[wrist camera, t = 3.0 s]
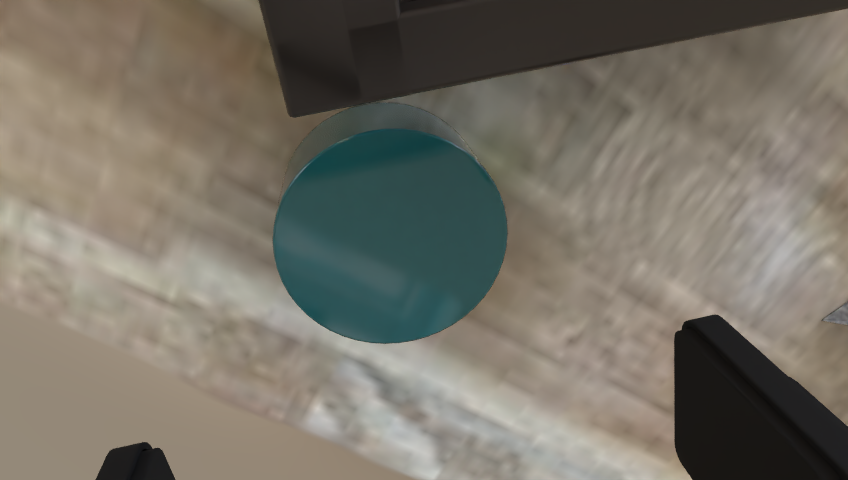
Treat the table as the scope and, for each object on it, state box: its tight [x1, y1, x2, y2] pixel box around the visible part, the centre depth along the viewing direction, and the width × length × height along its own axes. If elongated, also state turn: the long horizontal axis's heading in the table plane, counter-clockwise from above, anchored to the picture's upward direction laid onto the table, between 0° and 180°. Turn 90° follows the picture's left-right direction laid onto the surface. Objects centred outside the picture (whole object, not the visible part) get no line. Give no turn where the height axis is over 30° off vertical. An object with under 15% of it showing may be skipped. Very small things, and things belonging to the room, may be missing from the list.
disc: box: [273, 103, 508, 344], centre depth 20 cm, size 7×7×3 cm
